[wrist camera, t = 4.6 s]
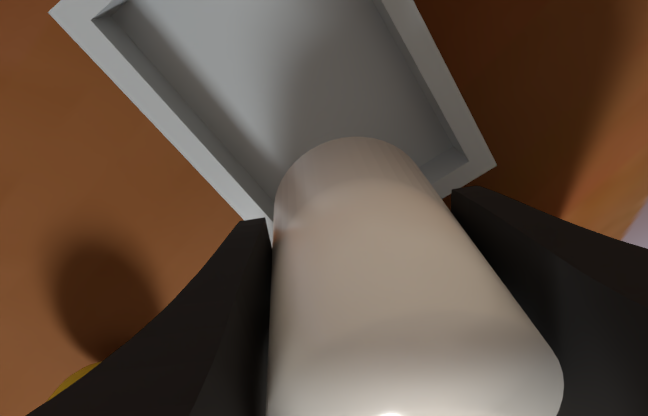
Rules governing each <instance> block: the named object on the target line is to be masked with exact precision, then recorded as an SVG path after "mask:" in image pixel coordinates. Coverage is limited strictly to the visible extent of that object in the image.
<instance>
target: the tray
mask: <svg viewBox="0 0 648 416" xmlns="http://www.w3.org/2000/svg"><path fill="white" fill-rule="evenodd" d="M48 13H49V14H50V15H51V16H52V17H53V18H54V19H55V20H56V21H57V23H58V24H59V25H60V26H61V27H62V28H63V29H64V30H65V31H66V32H67V33H68V34H69V35H70V36H71V37H72V38H73V39H74V40H75V42H76V43H77V44H78V45H79V46H80V47H81V48H82V49H83V50H84V51H85V52H86V53H87V54H88V55H89V56H90V57H91V58H92V60H93V61H94V62H95V63H96V64H97V65H98V66H99V67H100V68H101V69H102V70H103V71H104V72H105V73H106V74H107V75H108V76H109V78H110V79H111V80H112V81H113V82H114V83H115V84H116V85H117V86H118V87H119V88H120V89H121V90H122V91H123V92H124V93H125V94H126V96H127V97H128V98H129V99H130V100H131V101H132V102H133V103H134V104H135V105H136V106H137V107H138V108H139V109H140V110H141V111H142V112H143V113H144V115H145V116H146V117H147V118H148V119H149V120H150V121H151V122H152V123H153V124H154V125H155V126H156V127H157V128H158V129H159V130H160V131H161V133H162V134H163V135H164V136H165V137H166V138H167V139H168V140H169V141H170V142H171V143H172V144H173V145H174V146H175V147H176V148H177V149H178V151H179V152H180V153H181V154H182V155H183V156H184V157H185V158H186V159H187V160H188V161H189V162H190V163H191V164H192V165H193V166H194V167H195V169H196V170H197V171H198V172H199V173H200V174H201V175H202V176H203V177H204V178H205V179H206V180H207V181H208V182H209V183H210V184H211V185H212V187H213V188H214V189H215V190H216V191H217V192H218V193H219V194H220V195H221V196H222V197H223V198H224V199H225V200H226V201H227V202H228V203H229V204H230V206H231V207H232V208H233V209H234V210H235V211H236V212H237V213H238V214H239V215H240V216H241V217H242V218H243V219H244V220H251V219H257V218H264V217H265V219H266V223H267V228H268V232H269V237H270V241H271V246H272V244H273V220H274V203H275V196H276V193H277V190H278V187H279V185H280V182H281V180H282V178H283V177H284V175H285V174H286V172H287V171H288V169H289V168H290V167H291V166H292V165H293V163H294V162H295V161H297V160H298V159H299V158H300V157H301V156H302V155H304V154H305V153H306V152H308V151H309V150H311V149H313V148H315V147H316V146H318V145H320V144H323V143H325V142H328V141H331V140H335V139H339V138H345V137H368V138H375V139H378V140H382V141H385V142H387V143H390V144H392V145H394V146H396V147H397V148H399V149H400V150H402V151H403V152H404V153H406V154H407V155H408V156H409V157H410V158H411V159H412V160H413V161H414V162H415V164H416V165H417V166H418V168H419V169H420V170H421V172H422V173H423V174H424V176H425V177H426V178H427V180H428V181H429V183H430V184H431V185H432V187H433V188H434V189H435V191H436V192H437V193H438V195H439V196H440V198H441V199H443V198H444V197H446V196H448V195H449V194H451V193H452V189H457V188H461V187H462V186H464V185H466V184H467V183H469V182H471V181H472V180H474V179H476V178H477V177H479V176H481V175H482V174H484V173H485V172H487V171H489V170H490V169H492V168H494V167H495V166H497V164H496V162H495V160H494V158H493V156H492V154H491V152H490V150H489V148H488V146H487V144H486V142H485V140H484V138H483V136H482V135H481V133H480V131H479V129H478V127H477V125H476V123H475V121H474V119H473V117H472V115H471V113H470V111H469V109H468V107H467V105H466V103H465V101H464V99H463V97H462V95H461V93H460V91H459V89H458V87H457V85H456V83H455V81H454V79H453V78H452V76H451V74H450V72H449V70H448V68H447V66H446V64H445V62H444V60H443V58H442V56H441V54H440V52H439V50H438V48H437V46H436V44H435V42H434V40H433V38H432V36H431V34H430V32H429V30H428V28H427V26H426V24H425V23H424V21H423V19H422V17H421V15H420V13H419V11H418V9H417V7H416V5H415V3H414V1H413V0H61V1H60V2H59V3H57V4H56V5H55V6H54V7H53V8H52V9H51V10H50V11H49V12H48Z"/></svg>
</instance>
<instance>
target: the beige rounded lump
mask: <svg viewBox="0 0 648 416" xmlns="http://www.w3.org/2000/svg"><path fill="white" fill-rule="evenodd" d="M563 390H564V380H563V372H562V369H561V366H560V363H559V360H558V359H557V357H556V355H555V354H554V352H553V350H552V349H551V348H550V346H549V345H548V343H547V342H546V341H545V339H544V338H543V337H542V335H541V334H540V333H539V331H538V330H537V328H536V327H535V326H534V324H533V323H532V322H531V320H530V319H529V318H528V316H527V315H526V313H525V312H524V311H523V309H522V308H521V307H520V305H519V304H518V303H517V301H516V300H515V298H514V297H513V296H512V294H511V293H510V292H509V290H508V289H507V288H506V286H505V285H504V283H503V282H502V281H501V279H500V278H499V277H498V275H497V274H496V273H495V271H494V270H493V268H492V267H491V266H490V264H489V263H488V262H487V260H486V259H485V258H484V256H483V255H482V253H481V252H480V251H479V249H478V248H477V247H476V245H475V244H474V243H473V241H472V240H471V238H470V237H469V236H468V234H467V233H466V232H465V230H464V229H463V228H462V226H461V225H460V223H459V222H458V221H457V219H456V218H455V217H454V215H453V214H452V213H451V211H450V210H449V208H448V207H447V206H446V204H445V203H444V202H443V200H442V199H441V198H440V196H439V195H438V193H437V192H436V191H435V189H434V188H433V187H432V185H431V184H430V183H429V181H428V180H427V178H426V177H425V176H424V174H423V173H422V172H421V170H420V169H419V168H418V166H417V165H416V164H415V162H414V161H413V160H412V159H411V158H410V157H409V156H408V155H407V154H406V153H404V152H403V151H402V150H400V149H399V148H397V147H396V146H394V145H392V144H390V143H387V142H385V141H382V140H378V139H375V138H368V137H345V138H339V139H335V140H331V141H328V142H325V143H323V144H320V145H318V146H316V147H315V148H313V149H311V150H309V151H308V152H306V153H305V154H304V155H302V156H301V157H300V158H299V159H298V160H297V161H295V162H294V163H293V165H292V166H291V167H290V168H289V169H288V171H287V172H286V174H285V175H284V177H283V178H282V180H281V182H280V185H279V187H278V190H277V193H276V196H275V203H274V220H273V244H272V269H271V294H270V319H269V343H268V368H267V393H266V416H556V415H557V413H558V411H559V408H560V405H561V402H562V398H563Z"/></svg>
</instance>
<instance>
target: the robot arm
mask: <svg viewBox="0 0 648 416" xmlns="http://www.w3.org/2000/svg"><path fill="white" fill-rule="evenodd" d="M451 213H452V214H453V215H454V217H455V218H456V219H457V221H458V222H459V223H460V225H461V226H462V228H463V229H464V230H465V232H466V233H467V234H468V236H469V237H470V238H471V240H472V241H473V243H474V244H475V245H476V247H477V248H478V249H479V251H480V252H481V253H482V255H483V256H484V258H485V259H486V260H487V262H488V263H489V264H490V266H491V267H492V268H493V270H494V271H495V273H496V274H497V275H498V277H499V278H500V279H501V281H502V282H503V283H504V285H505V286H506V288H507V289H508V290H509V292H510V293H511V294H512V296H513V297H514V298H515V300H516V301H517V303H518V304H519V305H520V307H521V308H522V309H523V311H524V312H525V313H526V315H527V316H528V318H529V319H530V320H531V322H532V323H533V324H534V326H535V327H536V328H537V330H538V331H539V333H540V334H541V335H542V337H543V338H544V339H545V341H546V342H547V343H548V345H549V346H550V348H551V349H552V350H553V352H554V354H555V355H556V357H557V359H558V360H559V363H560V366H561V369H562V372H563V380H564V390H563V398H562V402H561V405H560V408H559V411H558V413H557V415H556V416H648V249H646V248H643V247H639V246H636V245H633V244H629V243H626V242H623V241H620V240H617V239H614V238H611V237H608V236H605V235H602V234H599V233H597V232H594V231H591V230H588V229H586V228H583V227H580V226H577V225H575V224H572V223H570V222H567V221H564V220H562V219H559V218H557V217H554V216H552V215H549V214H547V213H545V212H542V211H540V210H537V209H535V208H533V207H530V206H528V205H526V204H523V203H521V202H519V201H516V200H514V199H511V198H509V197H507V196H504V195H502V194H499V193H497V192H495V191H492V190H489V189H487V188H484V187H480V186H470V187H464V188H457V189H452V193H451ZM271 269H272V246H271V241H270V237H269V232H268V228H267V223H266V219H265V217H264V218H257V219H251V220H244V221H239V223H238V224H237V225H236V226H235V228H234V229H233V230H232V231H231V233H230V234H229V235H228V236H227V238H226V239H225V240H224V242H223V243H222V244H221V245H220V247H219V248H218V249H217V251H216V252H215V253H214V254H213V256H212V257H211V258H210V259H209V260H208V262H207V263H206V264H205V265H204V267H203V268H202V269H201V270H200V271H199V272H198V274H197V275H196V276H195V277H194V278H193V279H192V280H191V281H190V282H189V283H188V284H187V286H186V287H185V288H184V289H183V290H182V291H181V292H180V293H179V294H178V295H177V296H176V298H175V299H174V300H173V301H172V302H171V303H170V304H169V305H168V306H167V307H166V308H165V309H164V310H162V311H161V312H160V313H159V314H158V315H157V316H156V317H155V318H154V319H153V320H152V321H151V322H149V323H148V324H147V325H146V326H145V327H144V328H143V329H142V330H141V331H139V332H138V333H137V334H136V335H135V336H134V337H132V338H131V339H130V340H129V341H128V342H126V343H125V344H124V345H123V346H121V347H120V348H119V349H117V350H116V351H115V352H114V353H112V354H111V355H110V356H109V357H107V358H106V359H105V360H103V361H102V362H101V363H100V364H98V365H97V366H96V367H94V368H93V369H92V370H91V371H89V372H88V373H87V374H85V375H84V376H83V377H81V378H80V379H79V380H77V381H76V382H74V383H73V384H72V385H70V386H69V387H67V388H66V389H64V390H63V391H62V392H60V393H59V394H57V395H56V396H54V397H53V398H52V399H50V400H49V401H47V402H45V403H44V404H42V405H41V406H39V407H38V408H36V409H35V410H33V411H32V412H30V413H29V414H27V415H26V416H266V393H267V368H268V343H269V319H270V294H271Z"/></svg>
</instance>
